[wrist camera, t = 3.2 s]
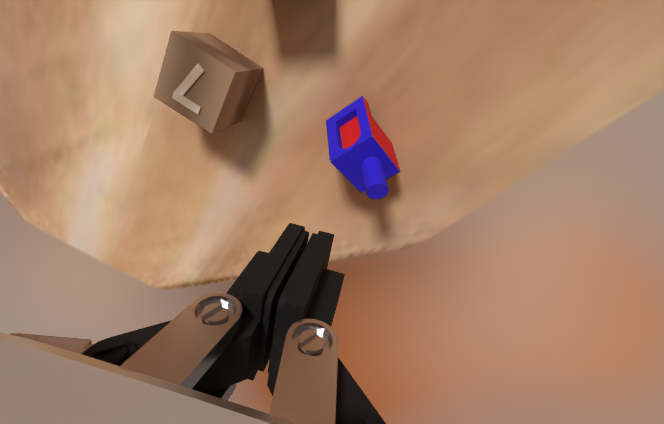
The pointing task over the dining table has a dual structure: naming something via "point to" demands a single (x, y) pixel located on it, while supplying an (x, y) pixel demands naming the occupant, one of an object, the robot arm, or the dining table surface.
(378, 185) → the toy building block
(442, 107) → the dining table surface
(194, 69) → the numeral seven cube
